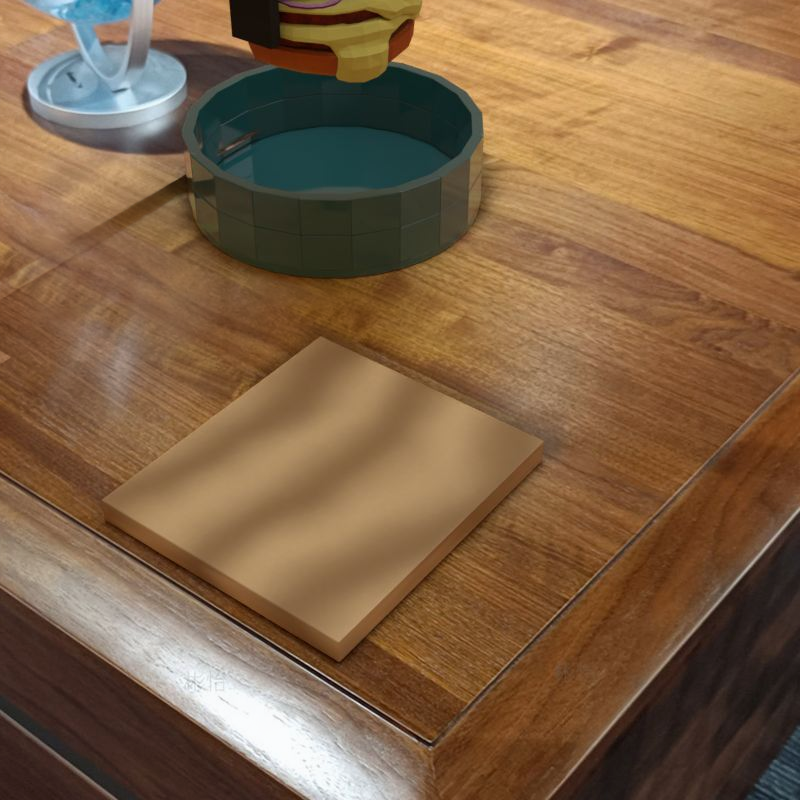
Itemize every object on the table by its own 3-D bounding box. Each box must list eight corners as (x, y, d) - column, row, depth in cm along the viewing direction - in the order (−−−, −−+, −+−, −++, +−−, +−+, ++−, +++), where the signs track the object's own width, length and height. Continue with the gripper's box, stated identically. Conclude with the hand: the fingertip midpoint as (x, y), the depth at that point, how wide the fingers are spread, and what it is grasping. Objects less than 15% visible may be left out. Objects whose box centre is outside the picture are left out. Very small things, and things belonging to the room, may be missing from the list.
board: (104, 520, 72) (100, 499, 71) (321, 355, 83) (320, 335, 82) (339, 663, 64) (338, 642, 63) (542, 460, 75) (544, 440, 74)
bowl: (131, 211, 96) (120, 135, 92) (317, 103, 108) (314, 32, 104) (359, 315, 86) (358, 235, 82) (534, 183, 99) (540, 108, 95)
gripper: (191, -428, 51) (235, 102, 65) (519, -490, 66) (498, -47, 80) (53, -445, 55) (124, 62, 69) (394, -501, 69) (395, -74, 83)
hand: (325, 4), depth 74 cm, fingers closed on cheeseburger, 11 cm apart
